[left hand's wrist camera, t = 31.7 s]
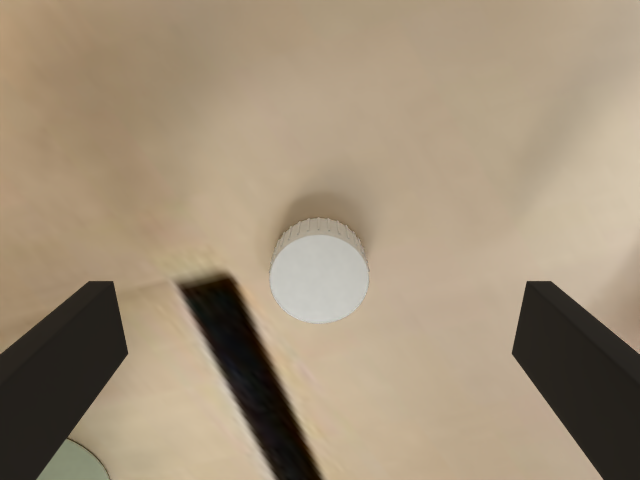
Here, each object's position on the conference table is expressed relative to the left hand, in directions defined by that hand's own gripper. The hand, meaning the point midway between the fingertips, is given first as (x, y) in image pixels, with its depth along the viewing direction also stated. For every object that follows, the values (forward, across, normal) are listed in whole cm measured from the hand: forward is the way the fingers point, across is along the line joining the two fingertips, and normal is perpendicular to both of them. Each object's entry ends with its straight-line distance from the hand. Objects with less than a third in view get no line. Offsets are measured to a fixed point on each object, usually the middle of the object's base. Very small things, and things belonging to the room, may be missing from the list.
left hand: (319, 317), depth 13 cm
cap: (+2, 0, 0) cm, 3 cm away
